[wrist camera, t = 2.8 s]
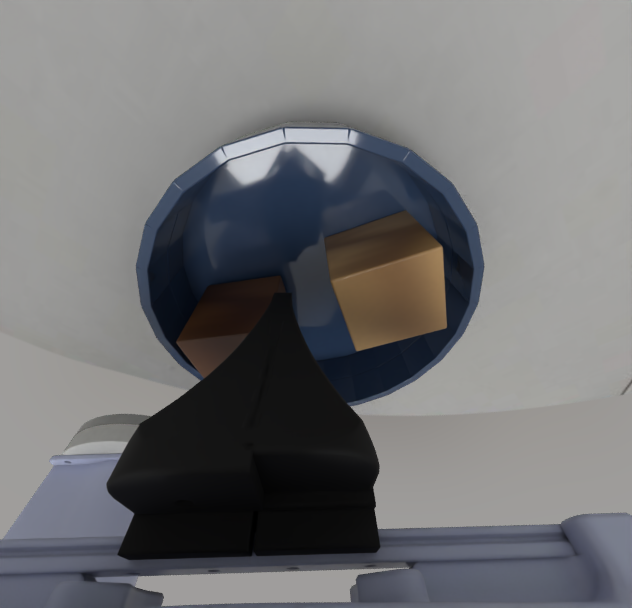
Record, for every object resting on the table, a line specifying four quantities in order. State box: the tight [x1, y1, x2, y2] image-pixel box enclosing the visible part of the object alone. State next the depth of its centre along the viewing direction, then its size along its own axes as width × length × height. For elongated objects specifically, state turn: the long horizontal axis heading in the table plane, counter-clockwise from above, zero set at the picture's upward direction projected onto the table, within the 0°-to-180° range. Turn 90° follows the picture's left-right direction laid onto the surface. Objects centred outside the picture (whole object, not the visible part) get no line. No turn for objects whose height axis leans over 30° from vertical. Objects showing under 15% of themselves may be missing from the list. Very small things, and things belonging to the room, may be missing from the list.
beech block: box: [324, 211, 447, 351], centre depth 12 cm, size 4×4×4 cm
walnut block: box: [176, 276, 286, 378], centre depth 13 cm, size 4×4×4 cm
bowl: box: [136, 121, 484, 406], centre depth 13 cm, size 14×14×4 cm
